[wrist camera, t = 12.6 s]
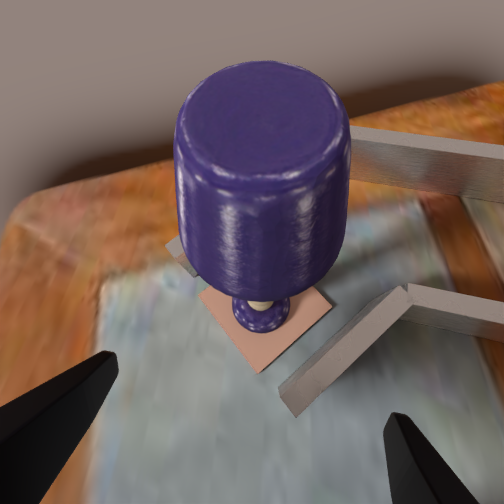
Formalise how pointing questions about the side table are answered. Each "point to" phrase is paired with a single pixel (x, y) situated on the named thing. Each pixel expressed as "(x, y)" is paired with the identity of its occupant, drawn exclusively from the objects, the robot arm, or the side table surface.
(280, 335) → the end pad
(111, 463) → the side table surface
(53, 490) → the side table surface
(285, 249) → the toy lamp
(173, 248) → the bent rails
